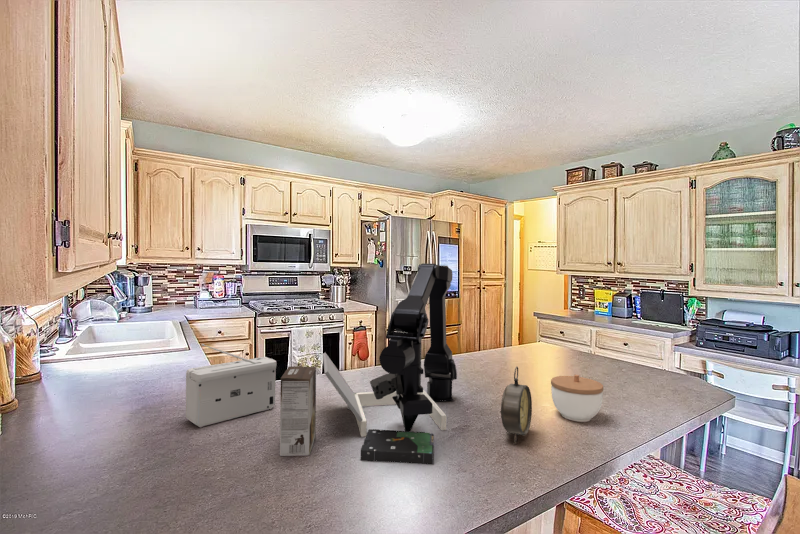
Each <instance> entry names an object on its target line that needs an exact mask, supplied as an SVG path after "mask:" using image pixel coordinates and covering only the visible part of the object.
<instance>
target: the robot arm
mask: <svg viewBox="0 0 800 534" xmlns="http://www.w3.org/2000/svg"><path fill="white" fill-rule="evenodd" d="M452 281H453V270H452V269H451V268H449V265H439V264H436V263H420V264H418V266H417V274H416V276H415V278H414V280H413V283H412V285H411V287H410V289H409V292H408V294H407V297H406V298H404V299H403V300H401V301H399V303H398V304H397V306H396V307H395V309H394V310H393V312H392V313H391V316H390V319H389V324H388V327H387V330H386V334H385V340H386V339H388V345H387V346H386V347H384V348H383V349H382V350H381V352H380V355H379V365H380V366H381V368H382V369H383V370H384V371H385V372H386V374H383V375H380V376H378V377H376V378H373V379H371V380H370V381H369V384H370V386H371V389H372V392H374V395H375V397H376V399H382V398H383V397H384V396H387V395H389V394H391V393H394V392H395V391H396V396H393V397H392V398H393V400H394V401H395V402H396V406H397V408H398V409H399V411H400V414H401V419H402V425H403V429H404V430H403V431H412V428H413V427H414V424H415V422H416V420H417V419H418V416H419V415H429V414H431V413H432V403H431V402H430V400H429V399H428V398H427V397H426V396H425V395H424V394H423V395H420V394H417V393H422V392H423V389H424V387H423V386H422V375H424V378H426V379H427V378H428V381H427V382H426V383H427V384H426V385H427V386H426V389H427V390H426V393H427V394H428V395H429V396H430V397H431V399H432V400H433V401H434V402H435V403H436V402H437V403H438V402H451V401H455V398H454V397H453V381H455V380H458V372H457V366H456V363H455V360H454V359H453V351H452V350H451V348H450V346H449V345H448V343H447V315H446V313H447V312H446V294H447V292H448V291H449V289H450V288H451V284H452ZM428 302H429V303H428ZM427 303H428V304H429V318H428V314H427V311H426V307H427ZM428 325H429V331H430V332H429V333H430V334H429V335H430V336H429V337H430V347H429V348H428V350H427V352H426V353H425V356H424V360H423V368H422V340H423V338H425V335H426V332H427V329H428Z"/></svg>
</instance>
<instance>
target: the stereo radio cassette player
mask: <svg viewBox="0 0 800 534" xmlns="http://www.w3.org/2000/svg"><path fill="white" fill-rule="evenodd" d="M201 346H202V347H206V348H209V349H212V350H214V351H217V352H219V353H223V354H225V355H228V356H231V357H232V358H236V359H239V360H235V361H230V362H223V363H216V364H211V365H204V366H197V367H193V368H191V367H190V368H188V369H187V370H186V372H185V418H186V419H187V420H188V421H190V422H191V423H193V424H194V425H195V426H197V427H199V428H203V427H206V426H209V425H210V426H211V425H212V424H217V423H221V422H225V421H229V420H232V419H237V418H241V417H244V416H248V415H252V414H255V413H260V412H263V411H267V410H269V409H270V410H271V409H272V410H273V407H274V405H275V404H276V377H277V376H276V374H277V373H276V371H277V370H276V369H277V364H278V363H277V360H275V359H273V358H270V357H267V356H262V357H255V358H249V359H248V358H244V357H242V356H239V355H236V354H233V353H230V352H227V351H225V350H224V351H223V350H221V349H217V348H216V347H211V346H208V345H205V344H204V343H201Z"/></svg>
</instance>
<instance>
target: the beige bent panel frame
mask: <svg viewBox="0 0 800 534" xmlns="http://www.w3.org/2000/svg"><path fill="white" fill-rule="evenodd" d="M322 358H323V359H322V360H323V369H324V371H323V372H324V375H325V376H326V377H327V379H328V380H329V381H330V383H331V384H332V386H333V387H334V389H335V390H336V391H337V394H339V395H340V397H341V398H342V399H343V401H344V402H345V404H346V408H347V410H350V411H351V412H352V413H353V414H354V416H355V420H356V423H357V427H358V431H359V434H360V437H361V438H365V437H366V435H367V424H368V423H367V419H366V415H365V413H364V409H363V407H376V406H391V405H392V406H395V404H396V402H395V401H394V400H393V398H392V397H393V396H396V391H395V392H394V393H391V394H389V395H387V396H384V397H383V398H382V399H376V397H375V395H374V392H373V391H365V392H354V390H353V389H352V387H351V386H350V385H349V383H348V382H347V381H346V379H345V377H344V376H343V375H342V374H341V372H340V371H339V369H338V368H337V366H336V365H335V364H334V363H333V361H332V360H331V358H330V357H329V355H328V354H327V353H326V352H324V353H322ZM417 394H420V395H423V394H424V395H425V396H426V397H427V398H428V399H429V400H430V402H431V403H432V413H431V414H428V415H429V417H431V418H432V420H433V422H434V423H435V424H436V426H437V427H438V428H439V429H440V431H447V415H446V413H445V412H444V411H443V410H442V409H441V407H439V405H438V404H437V403H436V402H434V401H433V400H432V399H431V397H430V396H429V395H428V394H427V391H426V390H425V389H424V388H423V392H422V393H417Z"/></svg>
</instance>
